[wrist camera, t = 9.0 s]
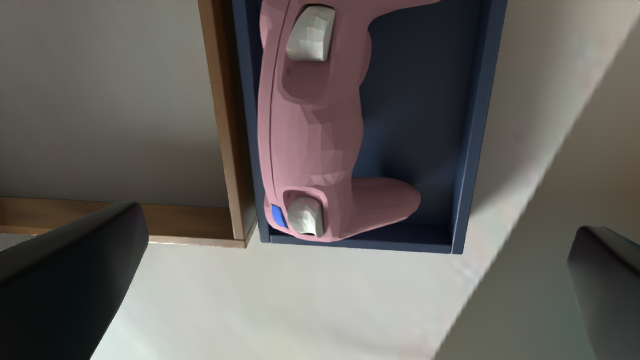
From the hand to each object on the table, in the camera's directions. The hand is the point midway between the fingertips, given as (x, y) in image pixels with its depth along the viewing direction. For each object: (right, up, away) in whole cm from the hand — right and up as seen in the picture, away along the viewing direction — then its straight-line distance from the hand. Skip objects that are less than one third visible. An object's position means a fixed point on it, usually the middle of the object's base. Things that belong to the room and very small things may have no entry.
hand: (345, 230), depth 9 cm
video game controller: (+1, +5, +8) cm, 10 cm away
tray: (+1, +5, +8) cm, 10 cm away
